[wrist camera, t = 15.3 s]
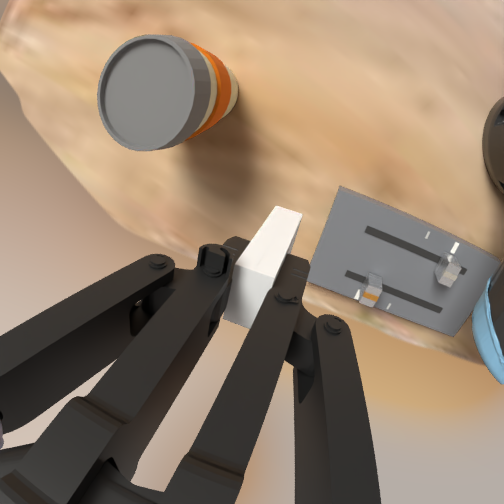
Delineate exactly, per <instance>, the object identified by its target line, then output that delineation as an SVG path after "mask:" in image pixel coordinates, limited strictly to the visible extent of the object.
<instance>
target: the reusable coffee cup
mask: <svg viewBox="0 0 504 504" xmlns="http://www.w3.org/2000/svg"><path fill="white" fill-rule="evenodd" d="M237 97H238V83H237V80H236V77H235V75H234V74H233V72H232V71H231V70H230V69H229V68H228V67H227V66H226V65H224V64H223V63H222V61H221V60H219V59H218V58H217V57H216V56H215V55H213V54H211V53H210V52H208V51H206V50H204V49H203V48H201V47H199V46H197V45H195V44H193V43H190V42H188V41H186V40H184V39H182V38H179V37H175V36H172V35H142V36H138V37H135V38H133V39H131V40H128V41H127V42H125V43H124V44H122V45H121V46H120V47H119V48H118V49H117V50H116V51H115V52H114V53H113V54H112V55H111V56H110V58H109V59H108V61H107V63H106V64H105V66H104V69H103V71H102V73H101V76H100V80H99V84H98V92H97V100H98V109H99V114H100V117H101V120H102V123H103V125H104V126H105V128H106V130H107V132H108V133H109V134H110V135H111V137H112V138H113V139H114V140H115V141H116V142H118V143H119V144H120V145H122V146H124V147H126V148H128V149H131V150H135V151H153V150H160V149H166V148H170V147H173V146H176V145H178V144H180V143H182V142H183V141H186V140H188V139H190V138H192V137H195V136H196V135H198V134H200V133H202V132H204V131H205V130H207V129H209V128H210V127H212V126H213V125H215V124H216V123H217V122H218V121H219V120H220V119H222V118H223V117H225V116H226V115H227V114H228V113H229V112H230V111H231V110H232V108H233V107H234V105H235V103H236V101H237Z"/></svg>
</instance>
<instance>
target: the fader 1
mask: <svg viewBox="0 0 504 504" xmlns="http://www.w3.org/2000/svg"><path fill="white" fill-rule="evenodd" d="M381 292H382V277H379V276H377V275H374V274H372V273H368V275H367V277H366V278H365V280H364V282H363V284H362V286H361V288H360V295H359V303H361V304H364V305H366V306H369V307H372V308H373V306H374V304H375V303H376V302H377V300H378V298H379V295H380V294H381Z"/></svg>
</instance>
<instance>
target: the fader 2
mask: <svg viewBox="0 0 504 504" xmlns="http://www.w3.org/2000/svg"><path fill="white" fill-rule="evenodd" d="M461 269H462V268H461V266H460V264H459V262H458V260H457V258H456V257H455V256H453V255H451V254H449V253H447V252H444V253H443V255H442V256H441V258H440V260H439V262H438V264H437V266H436V267H435V269H434V271H435V274H436V277H437V280H438V282H439V283H441V284H443V285H446V286H448V287H451V286H452V284H453V282H454V281H455V280H456V279H457V277H458V274H459V272H460V270H461Z"/></svg>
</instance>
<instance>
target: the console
mask: <svg viewBox="0 0 504 504" xmlns="http://www.w3.org/2000/svg"><path fill="white" fill-rule="evenodd" d="M444 252H447V253H449V254H451V255H453V256H455V257H456V258H457V260H458V262H459V264H460V266H461V268H462V269H461V270H460V272H459V274H458V277H457V279H456V280H455V281H454V282H453V284H452V286H451V287H448V286H446V285H443V284H441V283H439V282H438V280H437V277H436V274H435V271H434V269H435V267H436V266H437V264H438V262H439V260H440V258H441V256H442V255H443V253H444ZM500 263H501V262H500V260H499V259H498V257H496V256H494V255H492V254H490V253H488V252H486V251H485V250H483V249H481V248H479V247H477V246H475V245H473V244H471V243H469V242H467V241H465V240H463V239H461V238H459V237H457V236H455V235H453V234H451V233H449V232H447V231H445V230H442V229H440V228H438V227H436V226H434V225H432V224H430V223H428V222H425V221H423V220H421V219H419V218H417V217H414V216H412V215H410V214H408V213H405V212H403V211H401V210H398V209H396V208H394V207H391V206H389V205H387V204H384V203H382V202H379V201H377V200H375V199H372V198H370V197H367V196H365V195H362V194H360V193H357V192H355V191H352V190H350V189H347V188H344V187H342V186H339V189H338V192H337V195H336V197H335V200H334V203H333V206H332V208H331V211H330V214H329V216H328V219H327V222H326V224H325V227H324V229H323V232H322V235H321V237H320V240H319V242H318V245H317V248H316V250H315V253H314V255H313V258H312V260H311V263H310V267H311V268H310V271H309V275H308V279H307V281H308V282H311V283H313V284H316V285H318V286H321V287H324V288H326V289H329V290H331V291H334V292H337V293H339V294H342V295H344V296H347V297H350V298H352V299H355V300H357V301H359V295H360V288H361V286H362V284H363V282H364V280H365V278H366V277H367V275H368V273H372V274H374V275H377V276H379V277H382V292H381V294H380V295H379V298H378V300H377V302H376V303H375V304H374V306H373V307H376V308H378V309H381V310H384V311H386V312H389V313H391V314H394V315H397V316H399V317H402V318H405V319H407V320H410V321H412V322H415V323H418V324H420V325H423V326H426V327H428V328H431V329H434V330H436V331H439V332H442V333H444V334H447V335H449V336H452V337H454V336H455V334H456V333H457V332H458V330H459V329H460V328H461V326H462V325H463V324H464V322H465V321H466V319H467V318H468V317H469V315H470V314H471V312H472V311H473V309H474V307H475V305H476V303H477V301H478V300H479V298H480V296H481V295H482V293H483V291H484V290H485V288H486V284H487V281H488V279H489V278H490V277H491V276H492V274H494V272H495V271H496V269H497V268H498V266H499V264H500Z"/></svg>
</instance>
